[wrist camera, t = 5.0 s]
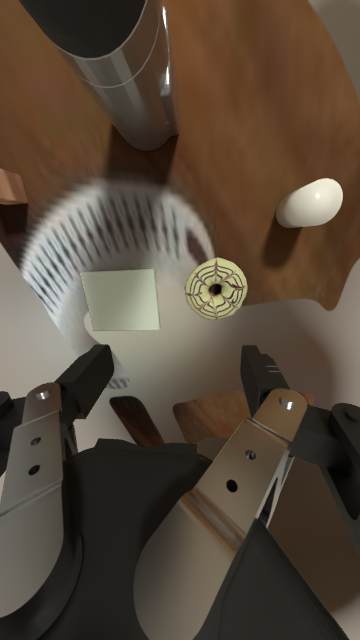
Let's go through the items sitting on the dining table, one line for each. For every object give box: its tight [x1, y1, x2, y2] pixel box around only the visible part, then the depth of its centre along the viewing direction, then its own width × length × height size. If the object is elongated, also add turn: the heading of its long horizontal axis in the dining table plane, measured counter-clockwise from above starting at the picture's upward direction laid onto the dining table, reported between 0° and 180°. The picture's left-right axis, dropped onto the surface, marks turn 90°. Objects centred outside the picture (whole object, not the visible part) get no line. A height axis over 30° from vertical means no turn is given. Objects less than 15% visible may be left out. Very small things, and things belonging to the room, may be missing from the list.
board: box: [80, 269, 161, 331], centre depth 40 cm, size 14×12×1 cm
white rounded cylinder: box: [276, 179, 343, 228], centre depth 28 cm, size 5×5×8 cm
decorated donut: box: [185, 258, 247, 320], centre depth 36 cm, size 10×11×4 cm
